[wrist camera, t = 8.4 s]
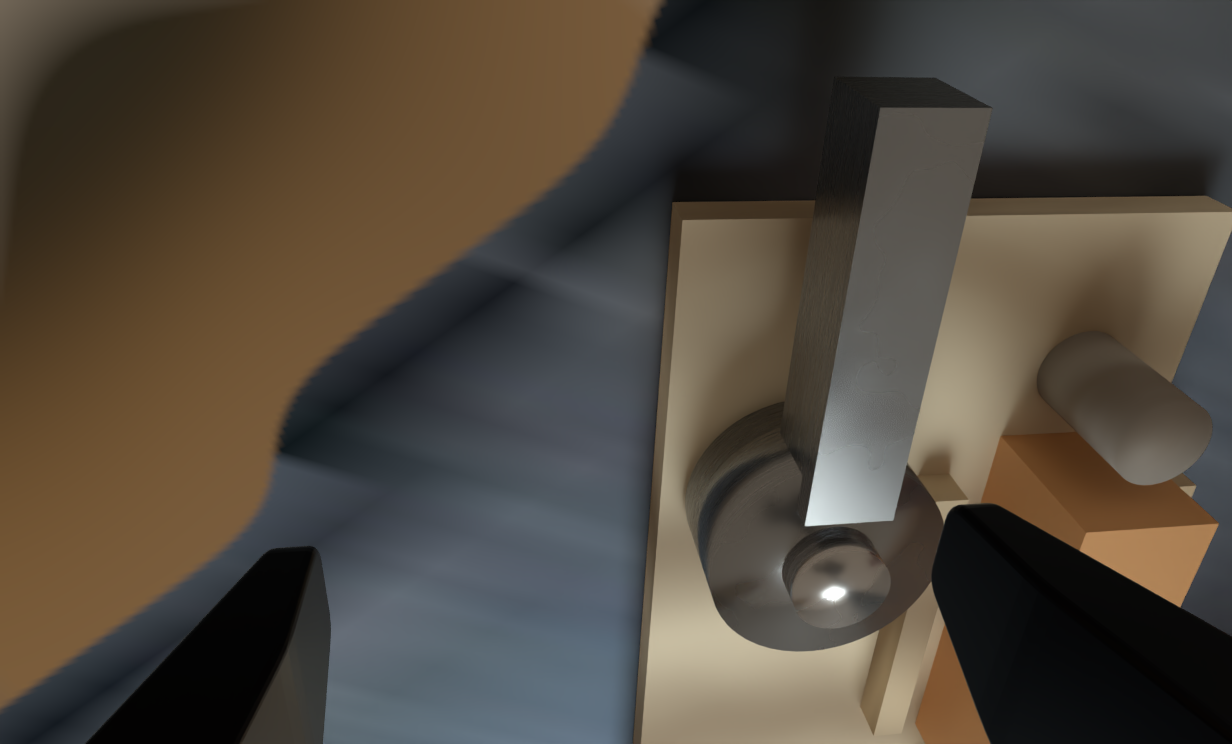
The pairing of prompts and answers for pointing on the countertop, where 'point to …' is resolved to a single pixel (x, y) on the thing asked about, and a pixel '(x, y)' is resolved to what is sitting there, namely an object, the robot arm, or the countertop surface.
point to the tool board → (945, 431)
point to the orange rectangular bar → (1074, 544)
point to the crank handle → (847, 384)
